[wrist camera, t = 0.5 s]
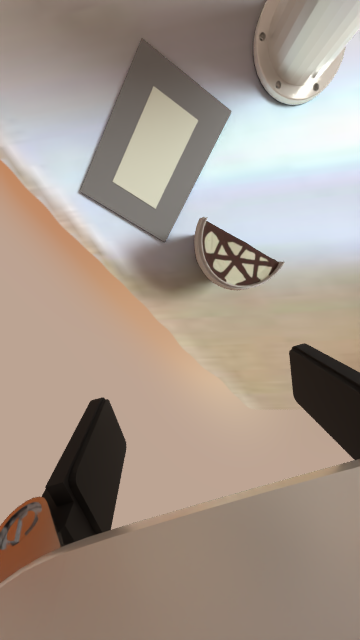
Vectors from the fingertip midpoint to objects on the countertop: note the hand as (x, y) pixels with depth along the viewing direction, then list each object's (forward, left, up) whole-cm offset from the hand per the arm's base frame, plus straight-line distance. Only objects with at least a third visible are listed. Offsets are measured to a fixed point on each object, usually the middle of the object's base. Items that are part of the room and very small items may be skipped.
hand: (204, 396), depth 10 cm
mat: (-18, -13, -26) cm, 34 cm away
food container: (-9, +3, -26) cm, 28 cm away
